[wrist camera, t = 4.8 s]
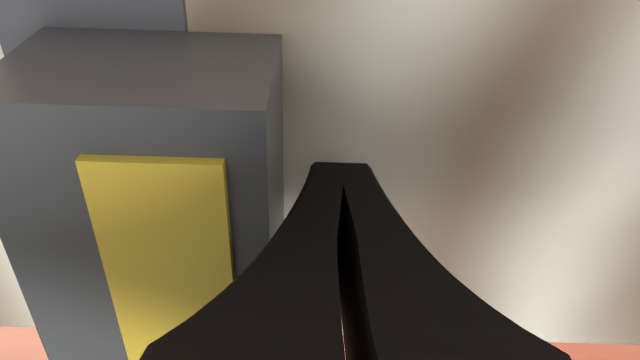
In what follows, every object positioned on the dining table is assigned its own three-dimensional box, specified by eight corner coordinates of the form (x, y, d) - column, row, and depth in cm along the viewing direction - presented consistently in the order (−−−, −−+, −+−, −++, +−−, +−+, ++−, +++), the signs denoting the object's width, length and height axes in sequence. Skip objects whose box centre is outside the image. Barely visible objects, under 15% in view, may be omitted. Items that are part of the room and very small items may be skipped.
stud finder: (281, 34, 11) (263, 117, 8) (284, 276, 15) (273, 393, 12) (43, 26, 11) (-63, 107, 8) (107, 270, 15) (52, 386, 12)
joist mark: (187, -112, 11) (173, -104, 10) (227, 303, 18) (221, 332, 17) (-17, -118, 11) (-51, -112, 10) (101, 299, 18) (88, 328, 17)
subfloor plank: (902, -87, 11) (958, -77, 10) (670, 316, 18) (690, 346, 17) (-284, -127, 11) (-345, -120, 10) (-64, 294, 18) (-87, 323, 17)
